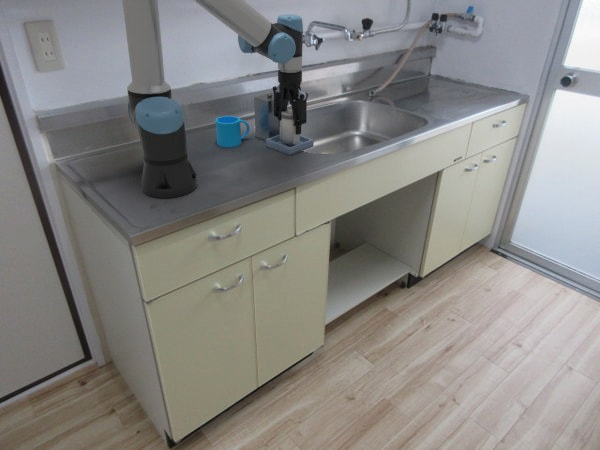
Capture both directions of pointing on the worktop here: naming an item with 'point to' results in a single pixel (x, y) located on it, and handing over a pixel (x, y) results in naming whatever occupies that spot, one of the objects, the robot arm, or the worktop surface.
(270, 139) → the tray
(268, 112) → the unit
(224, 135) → the mug
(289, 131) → the cylinder
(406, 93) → the worktop surface
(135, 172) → the worktop surface
